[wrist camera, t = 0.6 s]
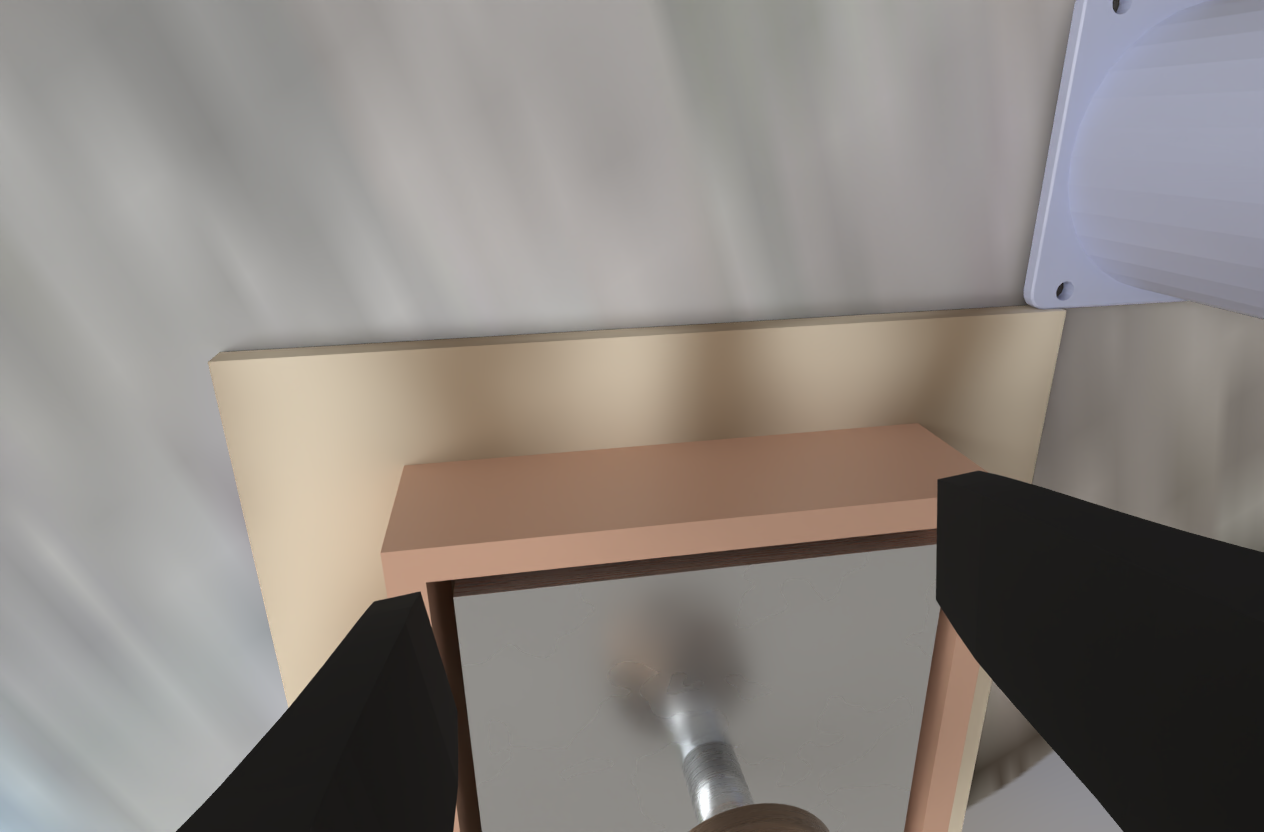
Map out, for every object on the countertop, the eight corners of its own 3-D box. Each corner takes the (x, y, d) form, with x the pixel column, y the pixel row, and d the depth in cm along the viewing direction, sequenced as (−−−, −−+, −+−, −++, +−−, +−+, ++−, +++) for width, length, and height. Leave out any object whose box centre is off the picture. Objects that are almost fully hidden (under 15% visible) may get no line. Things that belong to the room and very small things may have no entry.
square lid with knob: (932, 525, 18) (1097, 676, 13) (882, 859, 22) (992, 1068, 17) (455, 576, 16) (437, 771, 11) (497, 927, 21) (497, 1181, 16)
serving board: (1046, 304, 21) (1066, 310, 20) (948, 819, 28) (960, 837, 28) (219, 352, 18) (208, 362, 17) (348, 922, 25) (343, 946, 24)
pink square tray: (917, 423, 21) (1013, 489, 17) (867, 794, 26) (932, 910, 22) (404, 465, 19) (380, 552, 15) (459, 860, 24) (452, 1001, 20)
